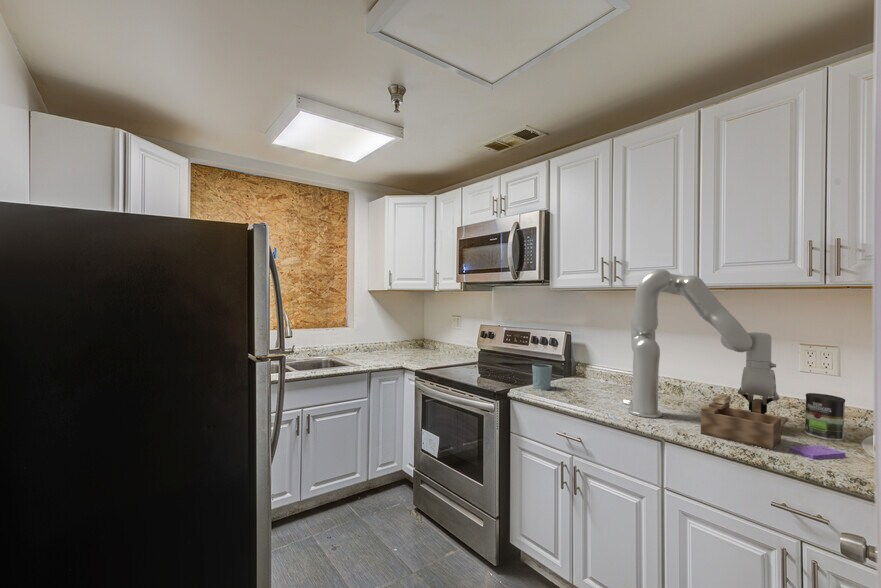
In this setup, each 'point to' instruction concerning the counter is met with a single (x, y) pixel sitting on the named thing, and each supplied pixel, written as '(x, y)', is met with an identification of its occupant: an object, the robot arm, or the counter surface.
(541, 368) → the drinking glass
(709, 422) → the toolbox
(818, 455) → the sponges
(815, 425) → the coffee can
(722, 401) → the light brown wooden block
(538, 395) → the counter surface
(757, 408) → the lid
